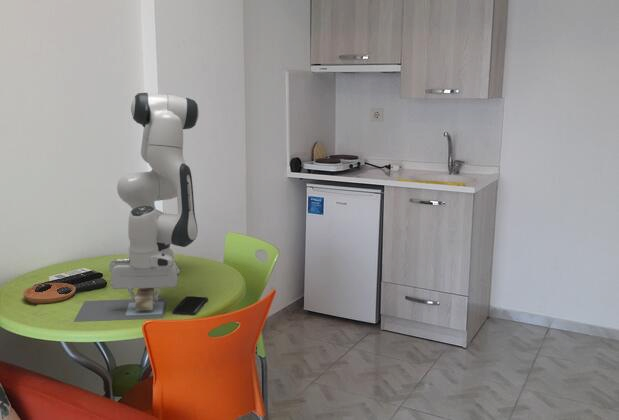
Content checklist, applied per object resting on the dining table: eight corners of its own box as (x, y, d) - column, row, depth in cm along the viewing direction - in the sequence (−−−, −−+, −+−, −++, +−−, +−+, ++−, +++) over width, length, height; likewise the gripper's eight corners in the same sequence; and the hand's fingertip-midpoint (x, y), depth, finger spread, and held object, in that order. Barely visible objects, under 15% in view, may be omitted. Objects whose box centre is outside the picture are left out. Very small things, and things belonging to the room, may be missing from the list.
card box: (135, 310, 189) (135, 297, 188) (138, 300, 198) (138, 288, 197) (152, 309, 190) (151, 297, 189) (154, 299, 198) (154, 287, 198)
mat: (84, 302, 199) (84, 300, 199) (166, 299, 204) (166, 297, 204) (73, 323, 182) (73, 321, 182) (163, 320, 186) (163, 318, 186)
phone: (208, 297, 205) (195, 313, 190) (208, 300, 205) (195, 316, 191) (186, 295, 206) (170, 311, 191) (186, 299, 206) (170, 315, 192)
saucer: (75, 288, 213) (74, 280, 213) (76, 304, 199) (76, 295, 198) (24, 293, 207) (24, 284, 207) (22, 309, 193) (21, 300, 192)
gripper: (107, 262, 186) (109, 305, 189) (176, 260, 189) (177, 303, 192) (110, 256, 192) (112, 298, 195) (177, 255, 195) (178, 296, 198)
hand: (145, 300), depth 193 cm, fingers closed on card box, 5 cm apart
